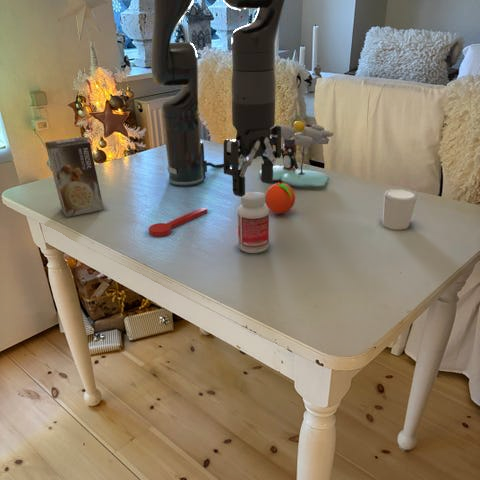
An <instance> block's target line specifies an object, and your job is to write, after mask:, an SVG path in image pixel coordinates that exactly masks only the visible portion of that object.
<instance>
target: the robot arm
mask: <svg viewBox="0 0 480 480" xmlns="http://www.w3.org/2000/svg"><path fill="white" fill-rule="evenodd" d="M285 1H286V0H223V2H224V3H225V4H226V5H227V6H228V7H229V8H231V9H233V10H252V9H253V10H254V9H255V10H256V9H257V13H256V15H255V18H254V20H253V21H251V23H249V24H247V25H244V26H241V27H239V28H237V29H235V30H234V31H233V33H232V35H231V36H232V37H231V57H232V58H231V60H232V64H231V65H232V74H231V119H232V121H231V122H232V126H233V127H234V128H235V130H236V135H235V139H232V140H231V139H227V138H226V139H224V140H223V163H219V164H214V163H212V162H208V161H207V159H205V149H204V148H205V147H204V143H203V142H202V140H201V139H202V137H201V127H200V126H201V125H200V124H201V123H200V108H199V104H200V101H199V99H200V98H199V97H200V95H199V62H198V54H197V50H196V48H195V46H194V44H193V43H191V42H189V41H182V42H180V41H179V42H171V41H172V36H173V34H174V32H175V30H176V28H177V26H178V25H179V23H180V22H181V20H182V19H183V17H185V15H186V13H187V12H188V10H189V9H190V8H191V6H192V5H193V3H194V0H153V22H152V23H153V24H152V34H151V37H152V38H151V48H150V49H151V50H150V69H151V76H152V78H153V82H154V83H155V84H156V85H157V86H159V87H176V86H177V87H178V86H179V87H180V86H182V87H181V89H180V90H179V92H178V93H177V94H176V95H174V96H173V97H170V98H169V99H167V100H165V101H164V102H163V103H162V105H161V112H162V120H163V131H164V138H165V139H164V140H165V141H164V142H165V148H166V150H165V151H166V158H167V160H166V161H167V166H166V167H167V172H168V181H169V183H170V184H171V185H173V186H179V187H190V186H195V185H196V186H197V185H199V184H201V183H203V181H204V180H205V179H206V173H207V172H208V166H209V167H211V168H214V169H216V168H223V174H224V175H228V176H231V179H232V181H231V183H232V192H233V195H234V196H236V197H240V198H241V197H242V196H244V195H245V193H246V176H245V175H246V172H247V169H248V167H250V166H251V165H252V163H253V160H256V159H257V158H258V157H259V159H261V161H262V162H261V167H260V168H261V169H260V170H261V177H260V178H261V180H260V181H261V182H262V183H263V184H268V185H270V184H272V183H273V181H272V178H273V166H274V165H275V164H276V160H277V159H280V158H282V154H281V149H282V138H281V127H280V126H277V125H278V124H277V125H276V91H277V90H276V89H277V85H276V84H277V81H276V73H275V72H276V71H275V70H276V69H275V66H276V65H275V64H276V40H277V36H278V30H279V25H280V21H281V18H282V13H283V10H284V6H285V3H286V2H285ZM274 147H275V150H274ZM239 166H240V168H239Z"/></svg>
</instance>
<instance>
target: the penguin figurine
mask: <svg viewBox="0 0 480 480" xmlns="http://www.w3.org/2000/svg"><path fill="white" fill-rule="evenodd" d="M275 125H277V126H280V127H281V139H282V140H283V144H282V146H283V147H282V148H281V158H282V160H283V161H282V164H283V165H282V164H279V165H273V178H272V182H278V181H279V182H280V181H281V183H285V184H287V185H289V186H290V187H294V188H295V187H296V188H303V189H305V188H322V187H324V186H326V185H327V184H328V181H329V180H330V176H329V175H327V174H325V173H323V172H320V171H314V170H310V169H307V168H309V166H310V162H308V163H306V165H305V169H303V165H304V164H305V162H304V160H305V156H308V154H309V152H308V151H307V150H306V149H307V148H308V149H309V148H310V147H311V145H312V144H313V145H316V144H319V145H328V144H329V142H330V137H333V136H334V132H333V131H330V130H326V129H325V127H324V126H322V125H320V124H312V125H311V126H306V125H305V123H304V122H303V121H301V120H297V121H295V122H294V123H293V127H292V126H290V125H287V124H284V125H283V124H277V123H275ZM293 135H294V137H293ZM295 139H296V140H295ZM296 146H297V147H298V148H296ZM301 147H302V149H301ZM297 150H299V151H298V153H299V154H300V155H301V157H300V158H296V155H295V154H296V151H297ZM299 160H301V163H299V164H298V162H299ZM312 160H316V158H315V157H314V156H313V157H312ZM298 165H299V166H300V167H299V166H298ZM258 176H259V177H260V178H261V169H260V170H259V171H258Z"/></svg>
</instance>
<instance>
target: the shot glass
mask: <svg viewBox="0 0 480 480" xmlns="http://www.w3.org/2000/svg"><path fill="white" fill-rule="evenodd" d="M417 199H418V193H416V192H415V191H413V190H409V189H405V188H390V189H387V190H385V191H384V193H383V207H382V209H383V210H382V225H383V226H384V227H385V228H388V229H390V230H399V231H400V230H405V229H408V228H409V227H410V224H411V220H412V217H413V213H414V210H415V206H416V203H417Z"/></svg>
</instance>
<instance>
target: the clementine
mask: <svg viewBox="0 0 480 480" xmlns="http://www.w3.org/2000/svg"><path fill="white" fill-rule="evenodd" d="M295 202H296V194H295V191H294V189H293V188H292V186H290V185H287V184H285V183H283V182H276V183H274V184H272V185H271V186H269V188H267V190H266V192H265V205H266V206H267V207H268V209H269V211H272V213H274V214H286V213H287V212H289V211H291V209H292V208H293V207H294V205H295Z"/></svg>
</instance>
